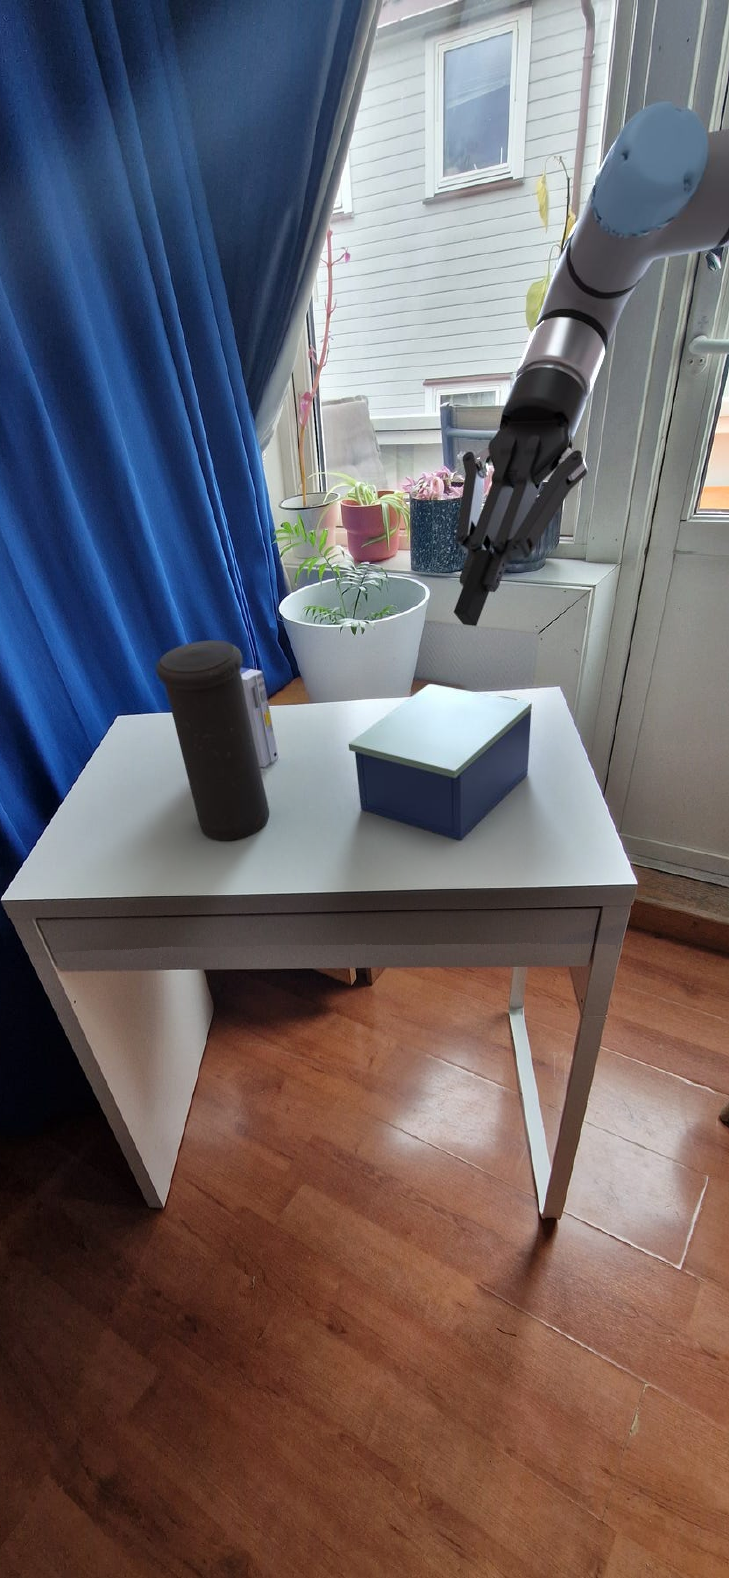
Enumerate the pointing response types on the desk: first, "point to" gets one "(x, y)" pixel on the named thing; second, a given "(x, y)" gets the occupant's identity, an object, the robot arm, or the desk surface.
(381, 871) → the desk surface
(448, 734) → the case lid
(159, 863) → the desk surface
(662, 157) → the robot arm
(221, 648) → the container
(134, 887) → the desk surface
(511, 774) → the case
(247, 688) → the walkman
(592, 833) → the desk surface
